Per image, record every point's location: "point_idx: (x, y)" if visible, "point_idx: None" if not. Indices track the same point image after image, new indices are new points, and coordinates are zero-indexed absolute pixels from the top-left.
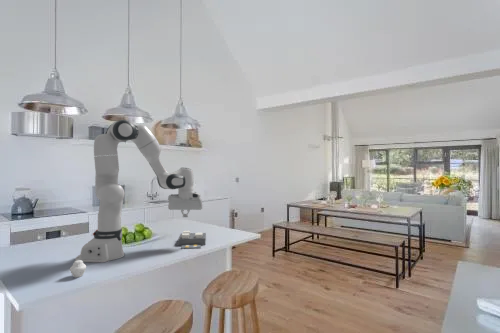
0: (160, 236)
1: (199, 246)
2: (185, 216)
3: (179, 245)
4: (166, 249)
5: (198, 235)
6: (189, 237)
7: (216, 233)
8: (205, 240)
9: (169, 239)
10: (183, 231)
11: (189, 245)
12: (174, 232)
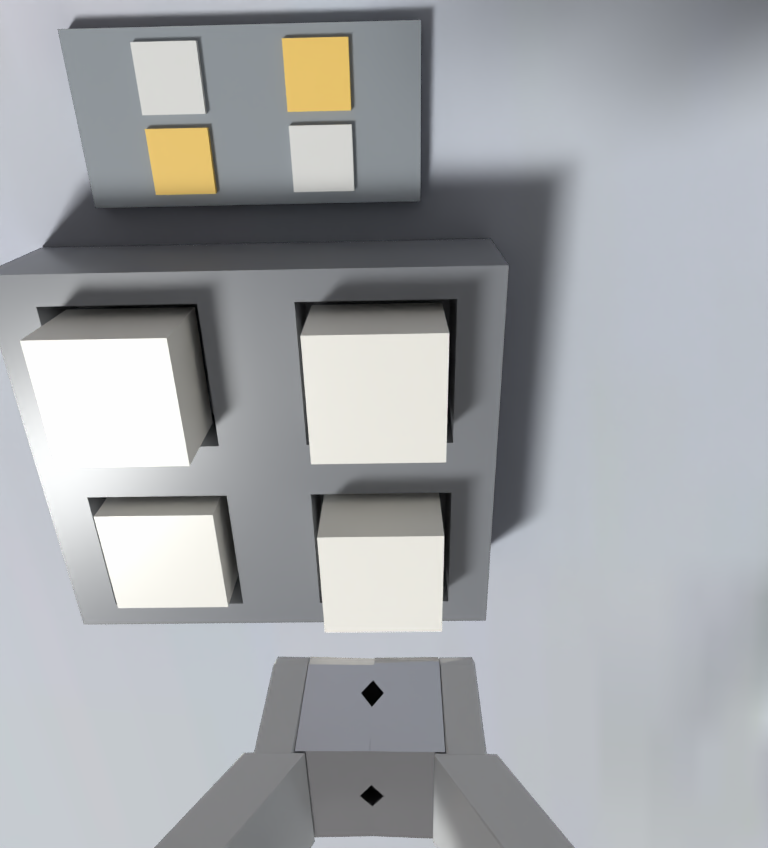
0: (746, 708)
1: (91, 87)
2: (361, 671)
3: (467, 240)
4: (686, 6)
5: (104, 332)
6: None
7: (50, 772)
8: None
9: (631, 579)
10: (439, 589)
11: (289, 177)
12: (572, 835)
